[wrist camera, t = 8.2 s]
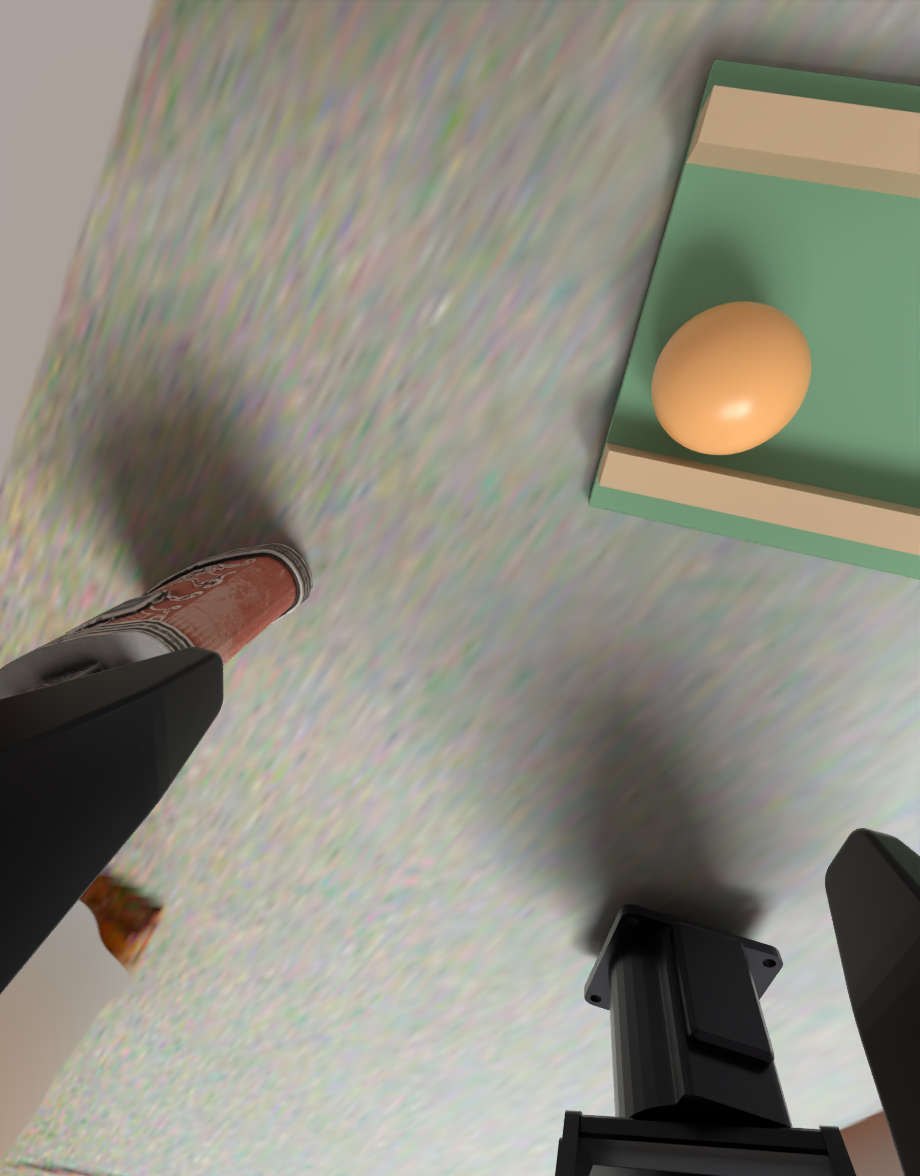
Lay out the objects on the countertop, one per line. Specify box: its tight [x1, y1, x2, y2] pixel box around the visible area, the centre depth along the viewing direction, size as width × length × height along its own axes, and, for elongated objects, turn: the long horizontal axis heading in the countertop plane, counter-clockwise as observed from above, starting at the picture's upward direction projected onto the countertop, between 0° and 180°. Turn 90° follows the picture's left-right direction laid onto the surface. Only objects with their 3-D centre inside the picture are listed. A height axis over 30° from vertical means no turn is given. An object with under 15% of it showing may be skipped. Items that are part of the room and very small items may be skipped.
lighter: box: [0, 543, 312, 699], centre depth 18 cm, size 8×3×10 cm, turn 112°
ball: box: [651, 301, 812, 455], centre depth 14 cm, size 4×4×4 cm
